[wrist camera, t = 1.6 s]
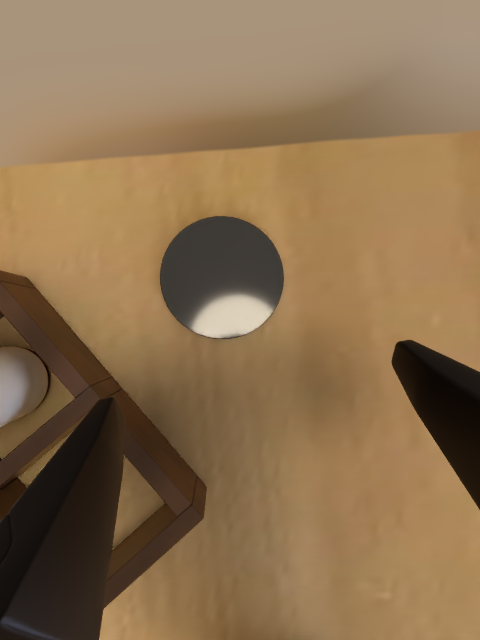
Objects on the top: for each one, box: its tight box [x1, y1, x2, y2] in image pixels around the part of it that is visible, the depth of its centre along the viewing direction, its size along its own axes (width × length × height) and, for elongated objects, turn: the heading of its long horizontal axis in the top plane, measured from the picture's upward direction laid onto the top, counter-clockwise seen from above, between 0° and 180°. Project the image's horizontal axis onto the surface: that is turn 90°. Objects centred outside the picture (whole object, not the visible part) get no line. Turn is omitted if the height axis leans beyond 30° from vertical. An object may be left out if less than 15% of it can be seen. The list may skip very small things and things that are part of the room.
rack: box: [0, 270, 207, 609], centre depth 21 cm, size 21×11×4 cm, turn 40°
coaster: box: [160, 216, 284, 339], centre depth 24 cm, size 10×10×1 cm
